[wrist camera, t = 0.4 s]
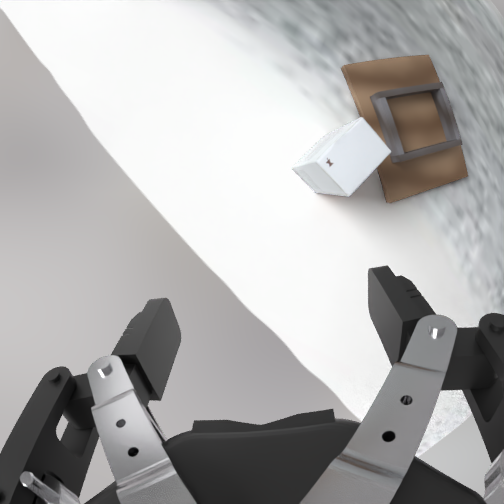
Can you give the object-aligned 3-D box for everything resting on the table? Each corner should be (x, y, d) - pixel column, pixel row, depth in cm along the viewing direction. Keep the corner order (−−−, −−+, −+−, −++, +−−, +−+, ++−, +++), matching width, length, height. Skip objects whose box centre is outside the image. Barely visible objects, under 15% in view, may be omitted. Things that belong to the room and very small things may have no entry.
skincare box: (315, 194, 36) (348, 199, 25) (290, 168, 36) (312, 161, 24) (349, 159, 36) (394, 151, 24) (325, 133, 35) (361, 114, 23)
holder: (341, 68, 33) (350, 58, 29) (424, 57, 32) (437, 49, 29) (386, 202, 37) (399, 204, 33) (463, 176, 36) (478, 176, 33)
